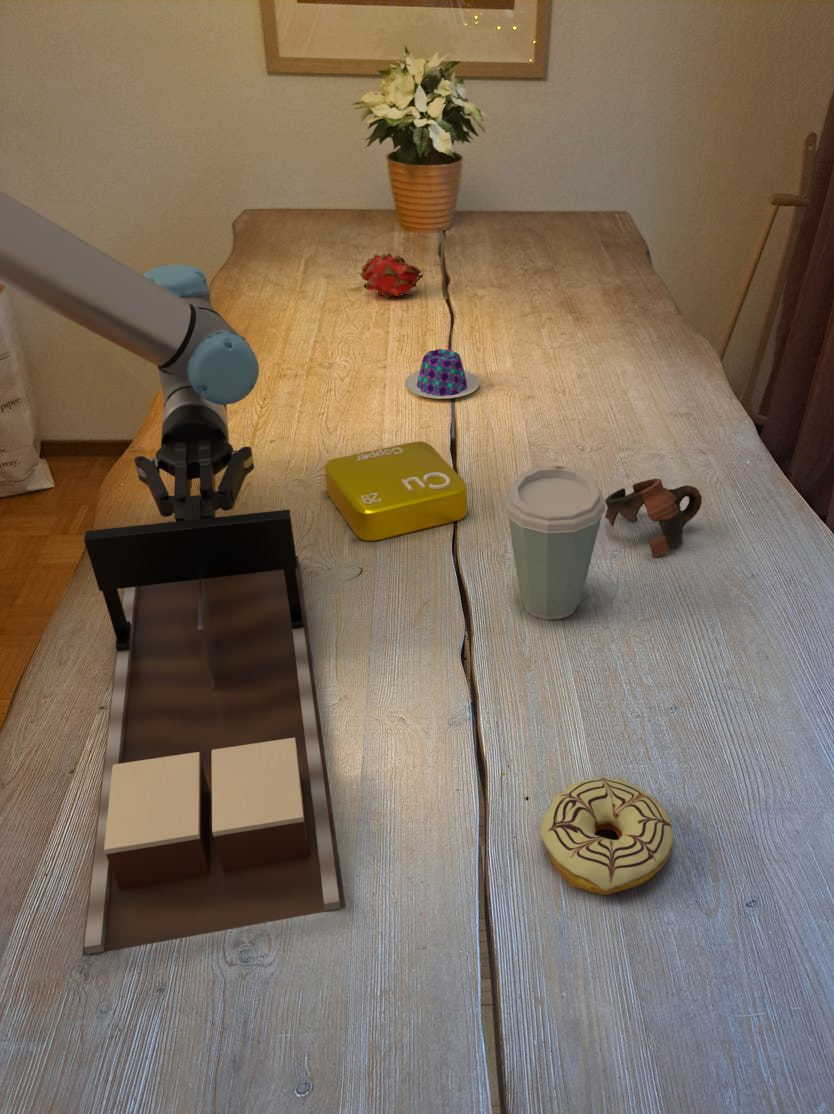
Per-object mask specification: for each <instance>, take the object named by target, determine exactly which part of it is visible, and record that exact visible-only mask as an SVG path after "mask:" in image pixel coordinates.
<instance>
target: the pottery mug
mask: <svg viewBox="0 0 834 1114" xmlns="http://www.w3.org/2000/svg"><path fill="white" fill-rule="evenodd" d="M632 490H633V492H630V493H628V494H627V495H626V488H624V487H622V488H620V489H618V490H617V491H615V492H613V493H611V494H609V495H608V496H607V497H606V499H604V502H605V504H606V505H605V506H606V507H607V509H606V510H605V516H604V517H605V518H606V519H607V520H608V522H609V525H610V527H611V526H612V527H614V525H615V521H616V519H617V516H618V515H620V516H621V517H623V519H625V520H626V522H628V523H637V522H638V514H639V512H640V510H641V508H642V507H643V505H644V507H645V510H646V513H647V516H648V518H650V520H651V521H653V522H658V524H659V526H660V529H661V530H662V534H661V535H659V536H658V537H656V538H654V539H650V540H649V542H648V544H649V547H650V549H651V554H652V557H653V558H657V557H661V556H664V555H666V554H668V553H670V552H672V551H674V550H677V549H678V548H680V547H681V545H683V535H684V528H685V526H686V524H687V523H688V522H690V521H691V520H693V518H694V517H695V516H697V514H698V513H699V511H700V509H701V508H702V507H701V506H702V500H703V496H702V495H701V492H700V490H699V489H698V488H697V487H695V486H692V485H682V486H679V487H677V488H673V489H672V488H671V489H670V488H667V487H664V486H663V481H662V479H661V478H651V479H646V480H642V481H639V482H636V483H634V484H632ZM686 497H688V504H687V506H686V507H685V508H684V509H682V510H681V503H682V502H683V500H684V499H685V498H686Z"/></svg>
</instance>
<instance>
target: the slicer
mask: <svg viewBox="0 0 834 1114" xmlns="http://www.w3.org/2000/svg"><path fill="white" fill-rule="evenodd" d="M292 525H293V524H292V517H291V509H281V510H270V511H261V512H251V513H244V514H243V513H242V514H234V515H223V516H215V517H213V518H204V519H194V520H185V521H176V522H175V521H167V522H158V523H148V524H139V525H138V524H137V525H130V526H121V527H111V528H102V529H100V528H99V529H92V530H91V529H90V530H85V533H84V536H83V537H84V538H83V542H84V545H85V548H86V551H87V555H88V558H89V561H90V564H91V568H92V571H93V574H94V579H95V581H96V584H97V587H98V591H99V592H102V595H103V598H104V602H105V605H106V608H107V611H108V615H109V618H110V622H111V624H112V629H113V632H114V635H115V650H116V651H121V650H128V649H129V643H130V632H131V624H130V621H126V617H125V614H124V610H123V607H122V600H121V596H120V593H119V590H121V589H124V588H130V587H139V586H147V585H156V584H164V583H173V582H181V581H190V580H198V579H207V578H216V577H224V576H233V575H241V574H250V573H258V572H267V571H275V570H284V575H285V582H286V589H287V595H288V602H289V609H290V616H291V624H292V629H293V628H301V627H304V626H303V618H302V610H301V603H300V596H299V589H298V582H297V574H296V568H297V560H296V556H297V554H296V553H297V552H296V546H295V539H294V532H293V526H292ZM198 629H199V633H200V638H201V642H202V646H203V651H204V655H205V660H206V664H207V668H208V673H209V677H210V681H211V686H212V688H215V638H214V633H213V629H212V624H211V619H210V615H209V610H208V606H207V601H206V596H205V592H204V587H203V583H202V580H199V623H198Z"/></svg>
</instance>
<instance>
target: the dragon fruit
mask: <svg viewBox="0 0 834 1114" xmlns="http://www.w3.org/2000/svg"><path fill="white" fill-rule="evenodd" d="M421 273H422V271H421V270H420V269H419V267H417V266H415V265H409V264H408V263H406V261H405V258H403V257H401V255H398V254H397V255H396V256H393V255H392V254H391V253H389V252H388V253H387V254H385V253H383V254H381V255H379V254H377V253H376V254H373V257H371V258H368V259H367V262H366V263H365V264H364V265H362V272H361V273H360V276H361V279H363V280H364V281H366V282H365V283H364V285H363V288H364V289H365V290H368V291H373V290H375V291H376V293H377V291H378V293H377V296H378V297H382V296H383V295H384V296H385V297H384V296H383V297H384V298H385V299H389V298H390V296H392V295H395V296H394V297H400V298H402V299H403V298H407V297H410V296H411V295H412V293H411V294H406V293H405V292H407V291H411V290H412V289H413V288H416V287H417V284H418V282H419V281H420V280H421V279H423V274H421ZM379 294H380V295H379ZM401 294H402V295H401ZM388 297H389V298H388Z"/></svg>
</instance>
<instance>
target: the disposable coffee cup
mask: <svg viewBox="0 0 834 1114" xmlns="http://www.w3.org/2000/svg"><path fill="white" fill-rule="evenodd" d="M502 504H503V509H504V514H505V517H507V519H508V526H509V531H510V532H509V533H510V538H511V547H512V551H513V552H512V553H513V557H514V564H515V570H516V578H517V583H518V589H519V596H520V601H521V605H523V609H524V610H525V611H526V612H527V613H528V614H530V615H531V616H532V617H535V618H537V619H538V618H539V619H542V620H545V621H546V620H547V621H548V620H549V621H550V620H551V621H552V620H562V619H564V618H566V617H569V616H571V615H573V614H574V612H575V611H576V609H577V608H578V606H579V604H580V603H581V601H582V597H583V592H584V590H585V586H586V581H587V577H588V573H589V569H590V566H591V565H590V564H591V561H592V557H593V554H594V553H593V552H594V549H595V545H596V541H597V536H598V532H599V528H600V526H601V525H600V524H601V520H602V517H603V514H605V512H606V508H605V506H606V505H605V504H606V503H605V499H604V497H603V495H602V491H601V489H600V488H599V485H598V482H597V480H595V479H594V478H593V477H592V476H590V475H589V474H587V473H586V472H585V471H583V470H582V469H579V468H575V467H570V466H564V465H540V466H539V465H538V466H535V467H533V468H530V469H529V470H526V471H523V472H522V473H520V474H518V475H517V476H516V478H515V479H514V480H513V482H512V483H511V485H510V486H509V487H508V490H507V491H506V492H505V493H504V494H503V501H502Z"/></svg>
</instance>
